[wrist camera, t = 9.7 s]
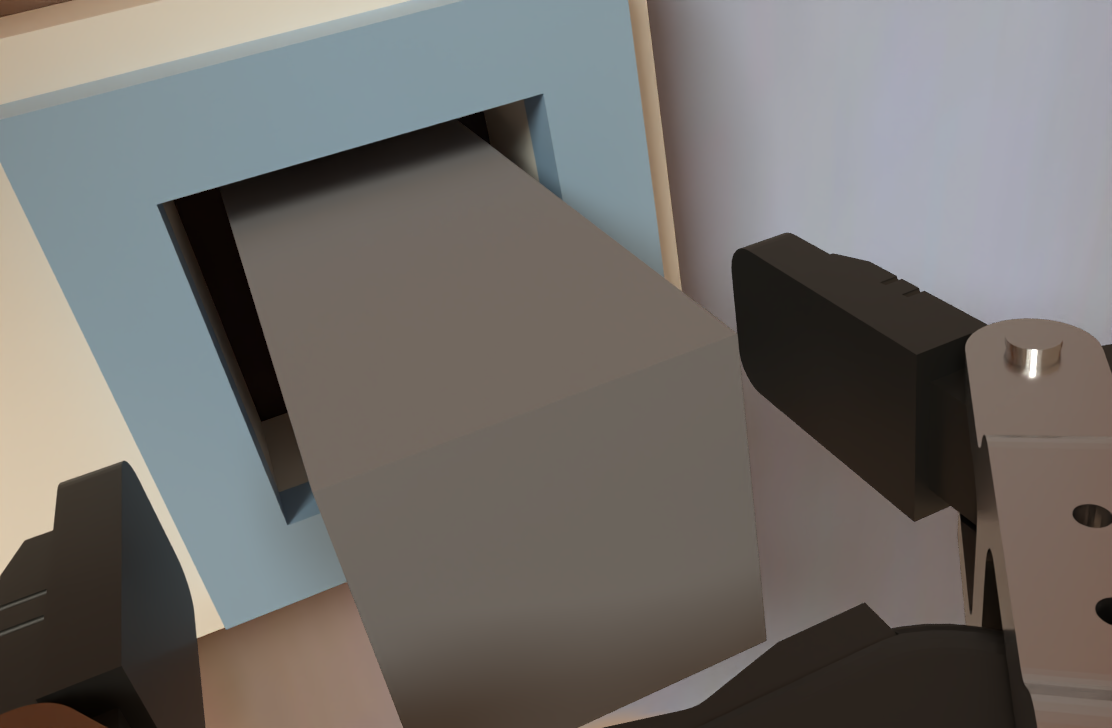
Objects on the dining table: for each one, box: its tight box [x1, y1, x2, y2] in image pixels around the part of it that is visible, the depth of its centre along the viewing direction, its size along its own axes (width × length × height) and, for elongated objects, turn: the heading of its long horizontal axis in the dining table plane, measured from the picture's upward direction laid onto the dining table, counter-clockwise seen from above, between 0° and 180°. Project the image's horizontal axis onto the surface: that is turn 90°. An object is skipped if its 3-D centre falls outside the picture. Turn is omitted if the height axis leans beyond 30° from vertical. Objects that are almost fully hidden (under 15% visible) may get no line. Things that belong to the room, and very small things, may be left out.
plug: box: [219, 119, 767, 728], centre depth 14 cm, size 4×4×10 cm
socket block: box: [0, 0, 682, 638], centre depth 15 cm, size 21×10×4 cm, turn 102°
